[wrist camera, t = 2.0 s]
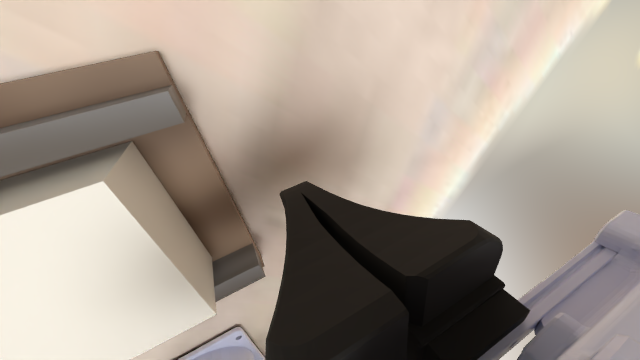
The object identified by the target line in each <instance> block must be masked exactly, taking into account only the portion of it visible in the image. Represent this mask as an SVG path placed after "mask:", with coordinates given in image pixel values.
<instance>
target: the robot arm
mask: <svg viewBox="0 0 640 360" xmlns="http://www.w3.org/2000/svg"><path fill="white" fill-rule="evenodd" d="M280 196H281V199H282V202H283V205H284V208H285V214H286V231H287V239H286V255H285V263H284V270H283V276H282V281H281V286H280V290H279V295H278V300H277V304H276V308H275V311H274V315H273V318H272V321H271V325H270V328H269V331H268V335H267V338H266V355H265V357H264V356H263V355H262V353H261V352H260V351H259V350H258V348H257V347H256V346H255V344H254V343H253V342H252V341H251V339H250V338H249V337H248V335H247V334H246V333H245V332H244V330H243V329H242V328H241V327H236V328H234V329H232V330H230V331H228V332H226V333H225V334H223V335H221V336H219V337H217V338H216V339H214V340H212V341H210V342H208V343H207V344H205V345H203V346H201V347H199V348H198V349H196V350H194V351H192V352H190V353H189V354H187V355H185V356H183V357H181V358H180V359H178V360H499V359H500V358H501V357H502V356H503V355H504V354H506V353H507V352H508V351H509V350H511V349H512V348H513V347H514V346H515V345H516V344H518V343H519V342H520V341H521V340H522V339H523V338H525V337H526V336H527V335H528V334H529V333H531V332H532V331H533V330H534V329H535V330H534V331H535V335H536V336H535V337H534V338H533V339H532V340H531V341H530V342H529V343H528V344H527V345H526V346H525V347H524V348H523V351H522V353H521V354H520V356H519V357H518V359H517V360H640V215H639V214H637V213H634V212H632V211H629V210H623V211H621V212H620V213H619V214H618V215H616V216H615V217H614V218H612V219H611V220H610V221H608V222H607V223H606V224H605V225H604V226H603V227H602V228H601V230H600V231H599V232H598V233H597V235H596V236H595V238H594V241H593V242H592V243H591V244H590V245H588V246H587V247H586V248H584V249H583V250H582V251H580V252H579V253H578V254H577V255H575V256H574V257H573V258H571V259H570V260H569V261H567V262H566V263H565V264H564V265H562V266H561V267H560V268H558V269H557V270H556V271H555V272H553V273H552V274H551V275H549V276H548V277H547V278H545V279H544V280H543V281H542V282H540V283H539V284H538V285H536V286H535V287H534V288H533V289H531V290H530V291H529V292H527V293H526V294H525V295H524V296H522V297H521V298H520V299H519V300H516V299H515V298H514V297H512V296H511V295H510V294H509V293H507V292H506V291H505V290H504V289H503V288H504V287H505V284H504V282H502V281H501V280H500V279H498V278H497V277H496V276H494V273H495V271H496V268H497V265H498V263H499V260H500V258H501V255H502V251H503V245H502V241H501V240H500V239H499V238H498V237H496V236H495V235H493V234H491V233H490V232H488V231H486V230H485V229H483V228H482V227H480V226H478V225H477V224H475V223H473V222H472V221H470V220H449V219H433V218H424V217H415V216H408V215H402V214H397V213H391V212H386V211H382V210H378V209H374V208H370V207H367V206H363V205H360V204H357V203H354V202H351V201H349V200H346V199H343V198H341V197H339V196H336V195H334V194H332V193H330V192H327V191H325V190H323V189H321V188H319V187H317V186H315V185H313V184H311V183H309V182H307V181H305V182H303V183H300V184H298V185H296V186H293V187H291V188H288V189H286V190H284V191H281V193H280Z"/></svg>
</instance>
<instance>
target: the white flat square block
mask: <svg viewBox="0 0 640 360" xmlns="http://www.w3.org/2000/svg"><path fill="white" fill-rule="evenodd" d="M214 315H216V304H215V291H214V278H213V265H212V257H211V255H210V254H209V252H208V251H207V249H206V248H205V247H204V245H203V244H202V242H201V241H200V239H199V238H198V236H197V235H196V233H195V232H194V230H193V229H192V228H191V226H190V225H189V223H188V222H187V220H186V219H185V217H184V216H183V214H182V213H181V212H180V210H179V209H178V207H177V206H176V204H175V203H174V201H173V200H172V198H171V197H170V196H169V194H168V193H167V191H166V190H165V188H164V187H163V185H162V184H161V182H160V181H159V179H158V178H157V177H156V175H155V174H154V172H153V171H152V169H151V168H150V166H149V165H148V163H147V162H146V161H145V159H144V158H143V156H142V155H141V153H140V152H139V150H138V149H137V147H136V146H135V145H134V143H133V142H132V141H130V142H127V143H124V144H120V145H117V146H114V147H110V148H107V149H104V150H100V151H97V152H94V153H90V154H87V155H84V156H80V157H77V158H74V159H70V160H67V161H64V162H60V163H57V164H54V165H50V166H47V167H44V168H40V169H37V170H34V171H30V172H27V173H24V174H20V175H17V176H14V177H10V178H7V179H4V180H0V360H131V359H133V358H135V357H137V356H139V355H141V354H143V353H144V352H146V351H148V350H150V349H152V348H154V347H156V346H158V345H160V344H161V343H163V342H165V341H167V340H169V339H171V338H173V337H175V336H177V335H179V334H180V333H182V332H184V331H186V330H188V329H190V328H192V327H194V326H196V325H197V324H199V323H201V322H203V321H205V320H207V319H209V318H211V317H213V316H214Z"/></svg>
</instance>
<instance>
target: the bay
mask: <svg viewBox="0 0 640 360" xmlns="http://www.w3.org/2000/svg"><path fill="white" fill-rule="evenodd" d="M130 141H132V142H133V143H134V145H135V146H136V147H137V149H138V150H139V152H140V153H141V155H142V156H143V158H144V159H145V161H146V162H147V163H148V165H149V166H150V168H151V169H152V171H153V172H154V174H155V175H156V177H157V178H158V179H159V181H160V182H161V184H162V185H163V187H164V188H165V190H166V191H167V193H168V194H169V196H170V197H171V198H172V200H173V201H174V203H175V204H176V206H177V207H178V209H179V210H180V212H181V213H182V214H183V216H184V217H185V219H186V220H187V222H188V223H189V225H190V226H191V228H192V229H193V230H194V232H195V233H196V235H197V236H198V238H199V239H200V241H201V242H202V244H203V245H204V247H205V248H206V249H207V251H208V252H209V254H210V255H211V257H212V265H213V278H214V291H215V302H217V301H218V300H220V299H222V298H224V297H226V296H228V295H230V294H232V293H234V292H236V291H238V290H240V289H242V288H244V287H246V286H248V285H250V284H252V283H254V282H255V281H257V280H259V279H261V278H263V277H265V274H264V271H263V266H264V263H263V260H262V257H261V255H260V253H259V251H258V249H257V247H256V245H255V243H254V241H253V239H252V237H251V235H250V233H249V231H248V229H247V227H246V225H245V223H244V221H243V219H242V217H241V215H240V213H239V211H238V209H237V207H236V205H235V203H234V201H233V199H232V197H231V195H230V193H229V191H228V189H227V187H226V185H225V183H224V181H223V179H222V177H221V175H220V173H219V171H218V169H217V167H216V165H215V163H214V161H213V159H212V157H211V155H210V153H209V151H208V149H207V147H206V145H205V143H204V141H203V139H202V137H201V135H200V133H199V131H198V129H197V127H196V125H195V123H194V122H193V120H192V118H191V116H190V114H189V112H188V110H187V108H186V106H185V104H184V102H183V100H182V98H181V96H180V94H179V92H178V90H177V88H176V86H175V84H174V82H173V80H172V78H171V76H170V74H169V72H168V70H167V68H166V66H165V64H164V62H163V60H162V58H161V56H160V54H159V52H158V51H153V52H149V53H144V54H139V55H134V56H130V57H125V58H120V59H116V60H111V61H106V62H101V63H97V64H92V65H87V66H82V67H78V68H73V69H68V70H63V71H59V72H54V73H49V74H44V75H40V76H35V77H30V78H25V79H21V80H16V81H11V82H7V83H2V84H0V180H4V179H7V178H10V177H14V176H17V175H20V174H24V173H27V172H30V171H34V170H37V169H40V168H44V167H47V166H50V165H54V164H57V163H60V162H64V161H67V160H70V159H74V158H77V157H80V156H84V155H87V154H90V153H94V152H97V151H100V150H104V149H107V148H110V147H114V146H117V145H120V144H124V143H127V142H130Z"/></svg>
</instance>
